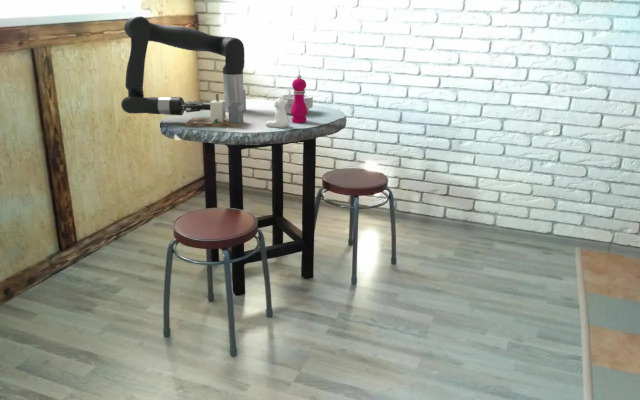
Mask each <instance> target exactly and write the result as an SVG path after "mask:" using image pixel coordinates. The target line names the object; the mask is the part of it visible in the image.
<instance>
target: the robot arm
mask: <svg viewBox="0 0 640 400" xmlns="http://www.w3.org/2000/svg"><path fill="white" fill-rule="evenodd" d="M123 28H124V29H123V30H124V32H125V34H126V35H127V36H128V37H129V39H130V51H129V52H130V53H129V56H128V61H127V65H126V73H125V88H126V90H127V91H128V92H127V93H128V94H127V95H128V96H126V97H124V98H123V99H122V100H121V104H120V105H121V109H122V110H123V111H124V112H125V113H127V114H136V115H137V114H150V115H163V116H182V115H184V112H185V113H187V114H188V113H193V112H195V113H196V112H200V111H210V103H204V102H202V101H201V102H200V101H195V100H193V101H192V100H189V101H188V100H187V101H186V102H185V100H184V98H183V97H179V96H163V97H160V96H159V97H158V96H157V97H156V96H151V97H145V94H144V88H143V87H144V77H145V66H146V65H145V64H146V57H147V50H148V44H149V42H155V43H159V44H163V45H165V46H166V45H167V46H169V47H173V48H177V49H182V50H185V51H186V50H187V51H193V52H208V53H214V54H216V55H219V56H222V57H225V58H224V59H225V64H224V66H223V67H222V80H223V81H222V82H223V83H222V84H223V100H225V112H228V107H229V106H230V105H231V104H232V103H243V112H244V111H247V101H246V100H247V99H246V96H247V95H246V90H245V88H244V70H245V69H244V68H245V47H244V43H243V41H242V40H241V39H239V38H237V37H233V36H232V37H231V36H217V35H212V34H208V33H206V32H203V31H200V30H197V29H194V28H191V27H185V26H179V25H167V24H166V25H165V24H164V25H163V24H157V23H153V22H150V20H148V19H147V18H146V17H144V16H140V15H138V16H133V17H130V18H129V19H127V20H126V22H125V24H124V27H123Z"/></svg>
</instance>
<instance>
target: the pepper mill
mask: <svg viewBox="0 0 640 400" xmlns="http://www.w3.org/2000/svg"><path fill="white" fill-rule="evenodd" d="M291 83H292V84H291V87H292V88H293V93H292V94H294V96H295V99H294V103H293V105H292V108H291V114H290V115H291V116H292V117H291V123H294V124H305V123H307V117H306V116H307V115H308V112H309V111H308V112H307V107H306V105H305V102H304V95H306V88H307V81H306V80H305V79H303V78H302V75H301V74H298V75H297V76H296V78H295V79H294V80H293V81H292V82H291Z"/></svg>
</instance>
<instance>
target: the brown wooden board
mask: <svg viewBox="0 0 640 400" xmlns="http://www.w3.org/2000/svg"><path fill="white" fill-rule="evenodd" d="M243 123H244V119H243V120H242V121H241V122H240V123H239V124H229V118H226V119H225V120H224V121H223V122H211V117H191V119H189V120H188V121H186V122H185V126H186V127H209V128H210V127H214V128H215V127H217V128H218V127H219V128H239V127H240V126H241V125H242V124H243Z"/></svg>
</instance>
